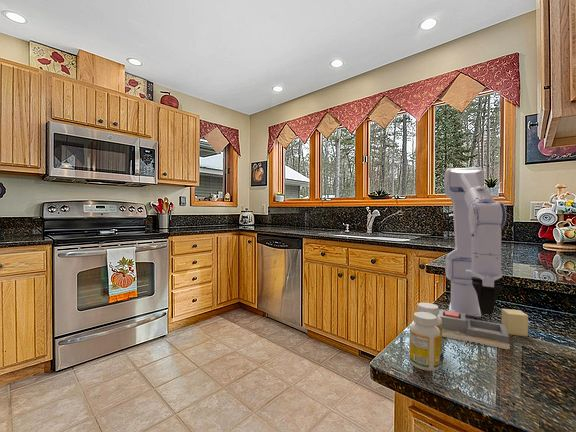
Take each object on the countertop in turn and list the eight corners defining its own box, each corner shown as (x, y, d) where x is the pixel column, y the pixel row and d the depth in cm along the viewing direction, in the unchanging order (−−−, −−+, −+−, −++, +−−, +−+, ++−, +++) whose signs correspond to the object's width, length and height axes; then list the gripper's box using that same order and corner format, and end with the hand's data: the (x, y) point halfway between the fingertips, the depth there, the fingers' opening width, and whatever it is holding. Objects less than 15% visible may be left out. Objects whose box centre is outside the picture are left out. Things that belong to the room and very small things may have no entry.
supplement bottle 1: (445, 358, 57) (446, 310, 57) (417, 355, 58) (417, 308, 58) (437, 346, 62) (437, 302, 62) (411, 343, 63) (411, 300, 63)
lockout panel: (436, 321, 76) (437, 306, 76) (503, 333, 69) (503, 317, 69) (433, 334, 68) (434, 318, 68) (509, 350, 60) (509, 331, 60)
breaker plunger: (445, 322, 72) (445, 310, 72) (458, 324, 71) (458, 312, 71) (444, 326, 70) (444, 314, 70) (458, 328, 68) (458, 316, 68)
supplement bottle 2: (416, 371, 52) (417, 320, 52) (404, 357, 57) (405, 310, 57) (446, 372, 52) (446, 320, 52) (431, 357, 57) (431, 310, 57)
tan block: (501, 327, 72) (501, 308, 72) (520, 330, 71) (520, 310, 71) (507, 334, 69) (508, 313, 69) (527, 336, 67) (528, 315, 67)
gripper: (465, 249, 75) (465, 300, 75) (466, 255, 62) (466, 316, 63) (498, 251, 71) (498, 304, 71) (506, 258, 59) (505, 323, 59)
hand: (485, 310), depth 67 cm, fingers open, 4 cm apart
